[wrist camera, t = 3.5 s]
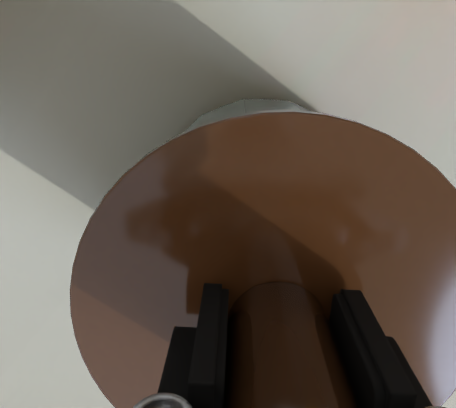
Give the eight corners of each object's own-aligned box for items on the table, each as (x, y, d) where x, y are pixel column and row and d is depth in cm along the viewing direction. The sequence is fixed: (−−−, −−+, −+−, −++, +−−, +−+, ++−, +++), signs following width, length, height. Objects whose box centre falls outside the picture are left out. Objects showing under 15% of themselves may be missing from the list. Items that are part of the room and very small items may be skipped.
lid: (65, 98, 11) (-125, 132, 5) (516, 116, 11) (831, 171, 5) (97, 435, 15) (10, 663, 9) (426, 452, 15) (544, 695, 9)
